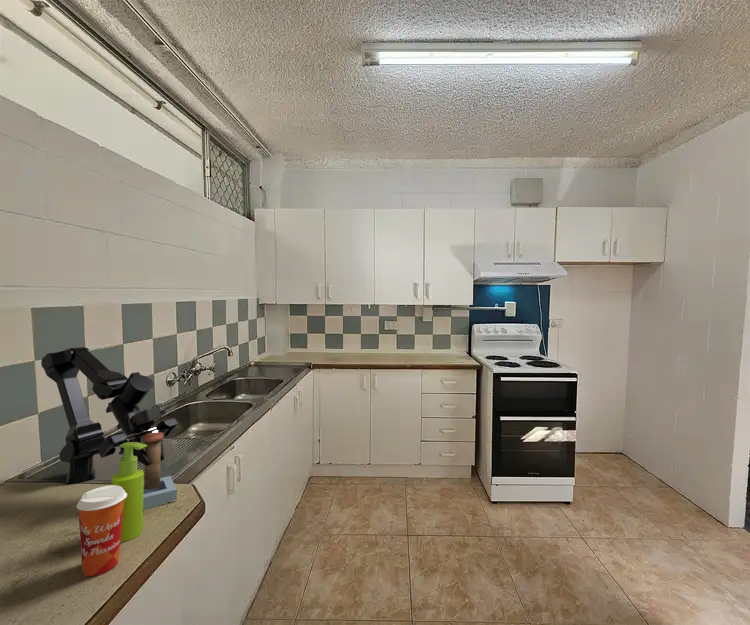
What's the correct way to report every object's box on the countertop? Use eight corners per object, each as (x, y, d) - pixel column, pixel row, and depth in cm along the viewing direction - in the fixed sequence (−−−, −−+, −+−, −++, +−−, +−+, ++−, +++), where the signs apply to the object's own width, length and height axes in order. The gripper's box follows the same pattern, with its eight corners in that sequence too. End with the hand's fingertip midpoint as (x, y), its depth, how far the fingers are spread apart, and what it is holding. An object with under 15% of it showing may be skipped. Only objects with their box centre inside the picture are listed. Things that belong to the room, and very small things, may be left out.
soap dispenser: (130, 544, 77) (132, 449, 78) (103, 540, 79) (105, 446, 79) (152, 529, 83) (154, 440, 83) (127, 525, 85) (128, 437, 85)
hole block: (127, 496, 97) (127, 485, 98) (170, 486, 104) (170, 475, 104) (130, 513, 90) (130, 500, 90) (176, 501, 96) (176, 489, 96)
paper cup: (70, 585, 66) (71, 507, 66) (80, 560, 72) (82, 488, 73) (123, 572, 69) (124, 497, 69) (128, 549, 76) (129, 481, 76)
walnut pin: (136, 488, 95) (138, 436, 95) (154, 481, 100) (155, 431, 100) (149, 492, 93) (150, 439, 94) (166, 484, 98) (167, 433, 98)
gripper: (106, 403, 90) (136, 456, 85) (174, 389, 107) (202, 433, 103) (85, 431, 93) (113, 484, 88) (154, 413, 110) (180, 456, 106)
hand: (156, 462), depth 96 cm, fingers closed on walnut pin, 3 cm apart
